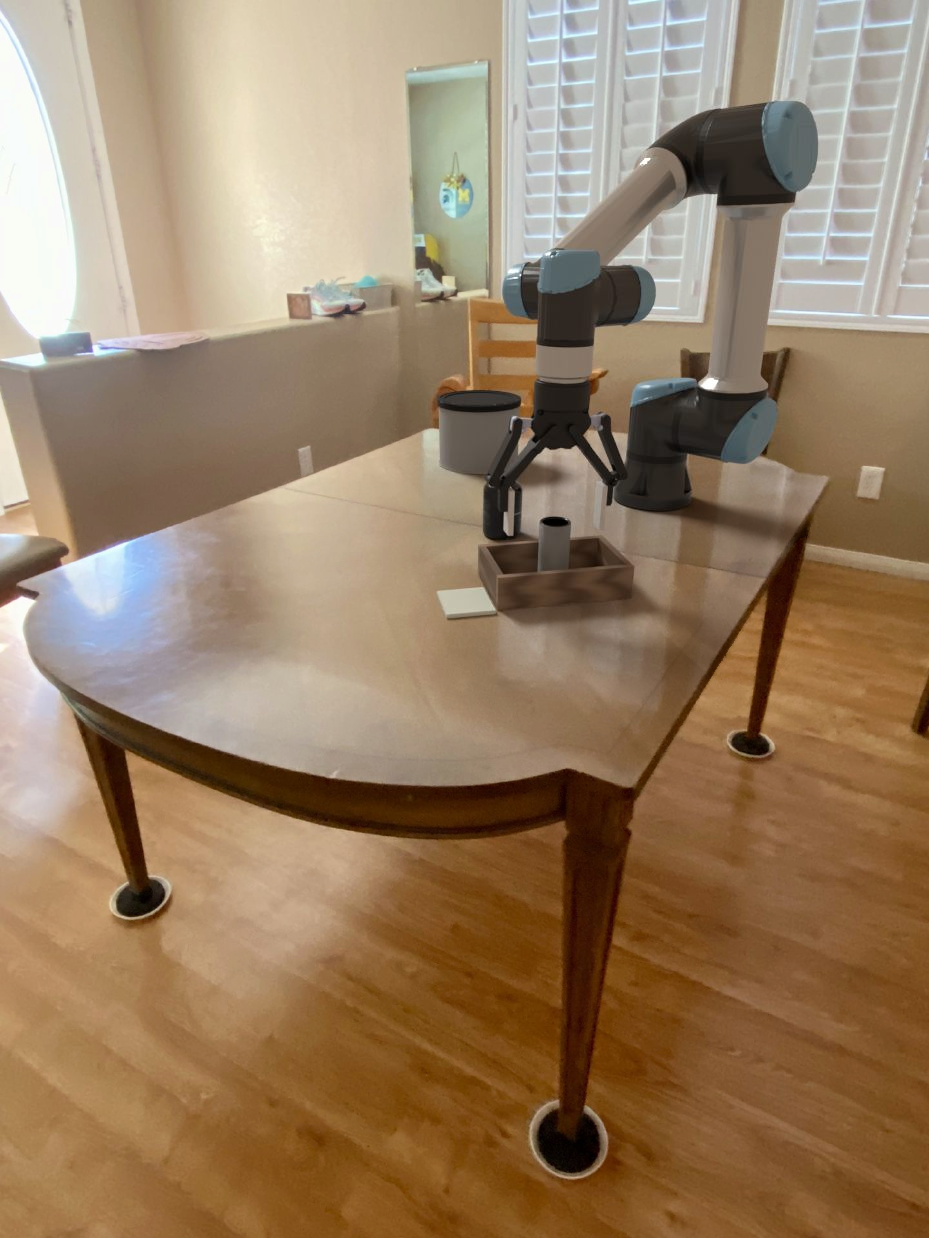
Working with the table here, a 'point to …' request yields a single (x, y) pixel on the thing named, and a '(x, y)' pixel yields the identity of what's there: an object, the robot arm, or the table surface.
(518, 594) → the box frame
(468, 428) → the container
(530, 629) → the table surface
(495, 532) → the supplement bottle
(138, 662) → the table surface
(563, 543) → the gray cylindrical cup
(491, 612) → the coaster
